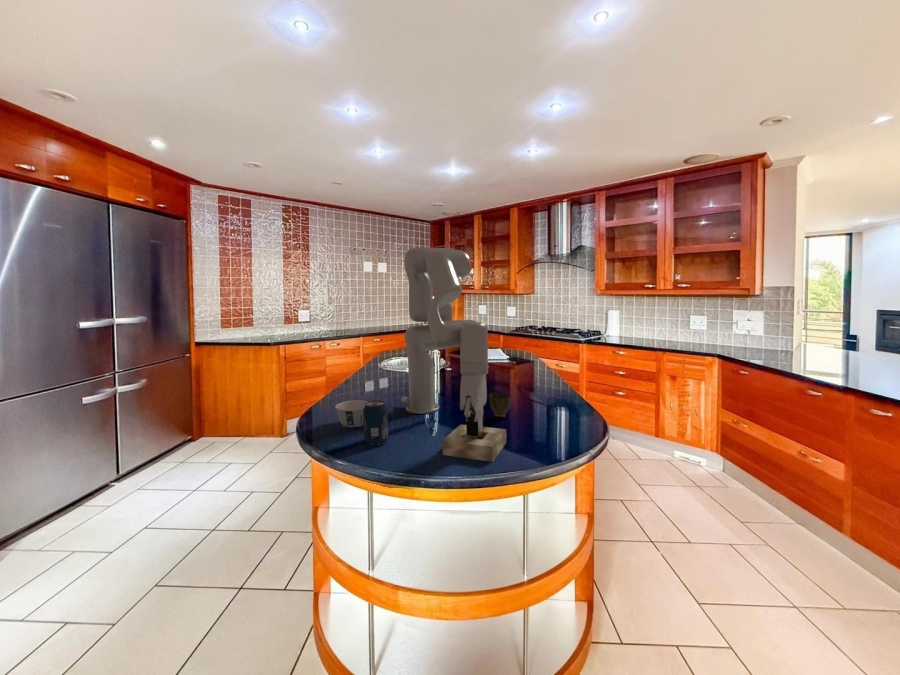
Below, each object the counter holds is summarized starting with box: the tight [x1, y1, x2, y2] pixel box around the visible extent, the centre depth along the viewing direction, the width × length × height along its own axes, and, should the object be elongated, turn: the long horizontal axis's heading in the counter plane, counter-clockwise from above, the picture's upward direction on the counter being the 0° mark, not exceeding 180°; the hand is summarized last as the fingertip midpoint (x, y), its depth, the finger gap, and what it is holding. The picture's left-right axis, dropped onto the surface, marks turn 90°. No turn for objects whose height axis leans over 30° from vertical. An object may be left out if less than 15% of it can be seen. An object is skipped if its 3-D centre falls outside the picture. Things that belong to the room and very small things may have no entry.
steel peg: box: [468, 407, 483, 440], centre depth 113 cm, size 4×4×14 cm
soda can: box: [363, 400, 389, 445], centre depth 119 cm, size 7×7×12 cm
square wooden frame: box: [441, 424, 507, 463], centre depth 113 cm, size 14×14×4 cm
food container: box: [334, 399, 369, 425], centre depth 138 cm, size 12×12×6 cm
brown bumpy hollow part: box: [488, 392, 511, 419], centre depth 141 cm, size 8×7×8 cm
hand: (475, 431), depth 113 cm, fingers closed on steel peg, 4 cm apart
